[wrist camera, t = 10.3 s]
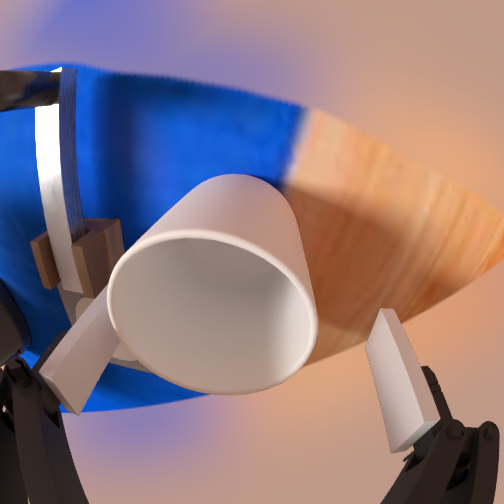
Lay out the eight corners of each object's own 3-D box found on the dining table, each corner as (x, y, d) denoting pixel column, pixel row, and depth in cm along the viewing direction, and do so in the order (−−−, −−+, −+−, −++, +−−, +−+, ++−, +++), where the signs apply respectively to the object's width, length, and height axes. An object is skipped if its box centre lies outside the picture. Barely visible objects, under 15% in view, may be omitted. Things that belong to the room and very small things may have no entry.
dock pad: (89, 348, 27) (84, 355, 26) (60, 269, 22) (53, 276, 21) (172, 368, 26) (169, 377, 25) (155, 283, 21) (150, 292, 20)
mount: (74, 258, 21) (42, 287, 17) (65, 217, 19) (28, 241, 15) (126, 264, 21) (97, 299, 16) (120, 219, 19) (84, 246, 15)
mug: (330, 294, 21) (358, 405, 12) (237, 327, 23) (221, 434, 14) (264, 149, 16) (255, 182, 7) (159, 205, 18) (72, 283, 9)
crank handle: (75, 277, 19) (20, 337, 12) (54, 78, 12) (-31, 81, 5) (96, 281, 19) (41, 347, 12) (77, 69, 12) (-12, 64, 5)
